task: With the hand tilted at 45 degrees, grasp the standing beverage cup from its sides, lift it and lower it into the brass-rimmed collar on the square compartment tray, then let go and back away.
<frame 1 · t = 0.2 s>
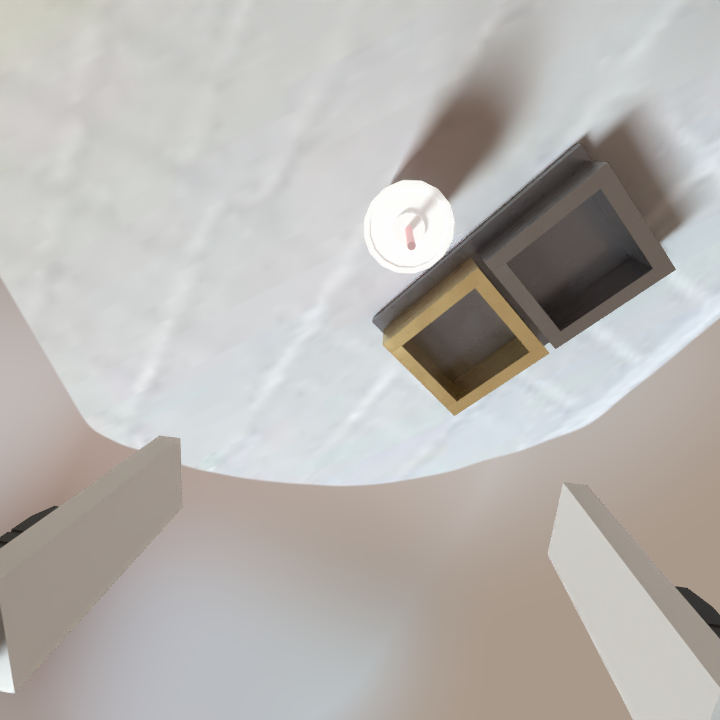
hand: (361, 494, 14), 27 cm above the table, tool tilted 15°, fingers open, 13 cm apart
beverage cup: (405, 209, 35), on the table
square compartment tray: (505, 292, 38), on the table
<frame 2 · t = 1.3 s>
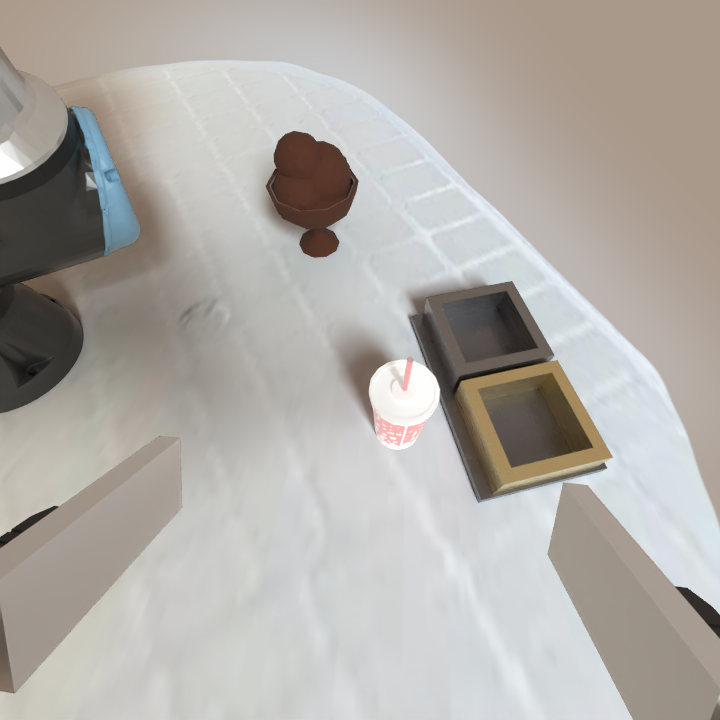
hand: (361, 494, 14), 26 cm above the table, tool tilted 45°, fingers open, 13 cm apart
beverage cup: (396, 429, 42), on the table
ice cream bowl: (319, 244, 56), on the table
square compartment tray: (496, 388, 44), on the table
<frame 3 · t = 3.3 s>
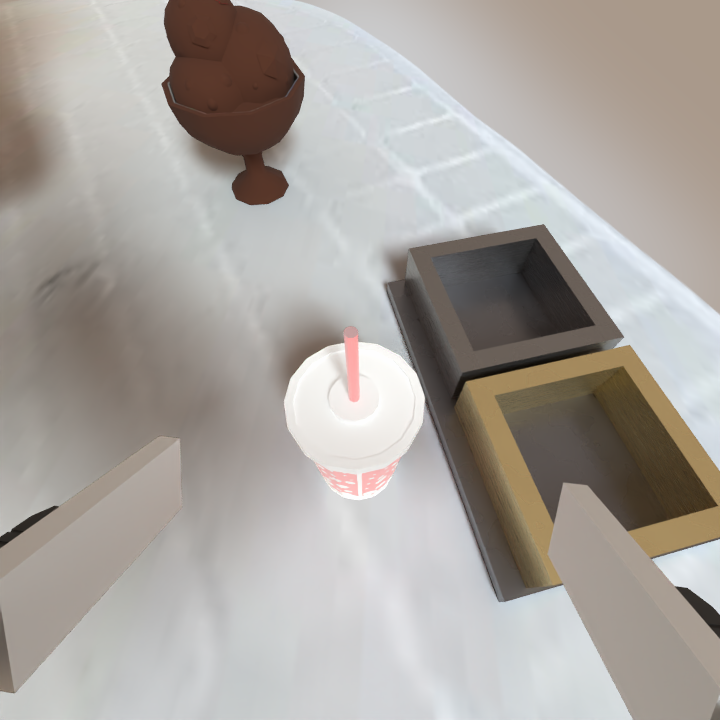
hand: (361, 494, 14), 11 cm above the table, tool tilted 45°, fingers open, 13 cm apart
beverage cup: (357, 463, 25), on the table
ice cream bowl: (260, 188, 40), on the table
square compartment tray: (521, 393, 27), on the table
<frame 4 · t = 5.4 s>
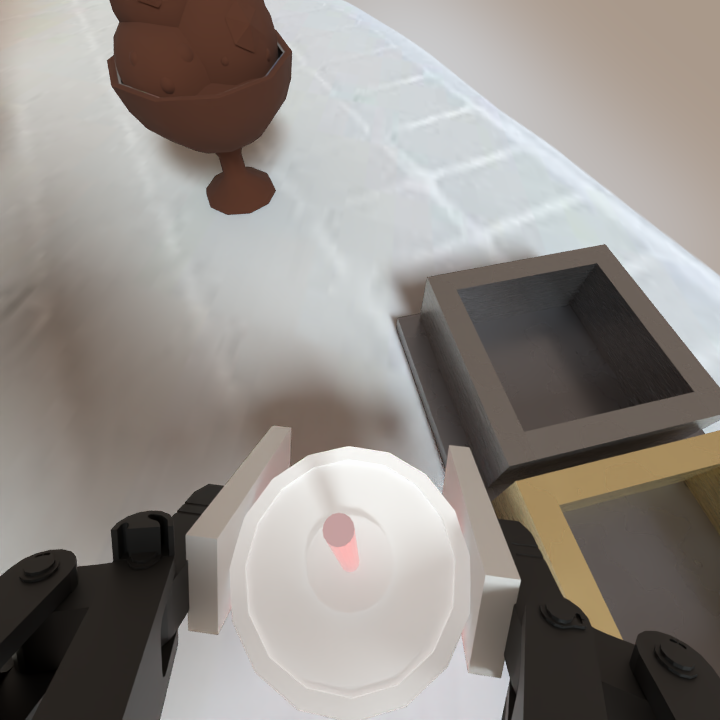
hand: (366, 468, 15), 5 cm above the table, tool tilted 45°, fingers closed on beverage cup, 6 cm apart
beverage cup: (357, 581, 18), on the table, touching gripper
ice cream bowl: (241, 194, 33), on the table
square compartment tray: (580, 475, 20), on the table
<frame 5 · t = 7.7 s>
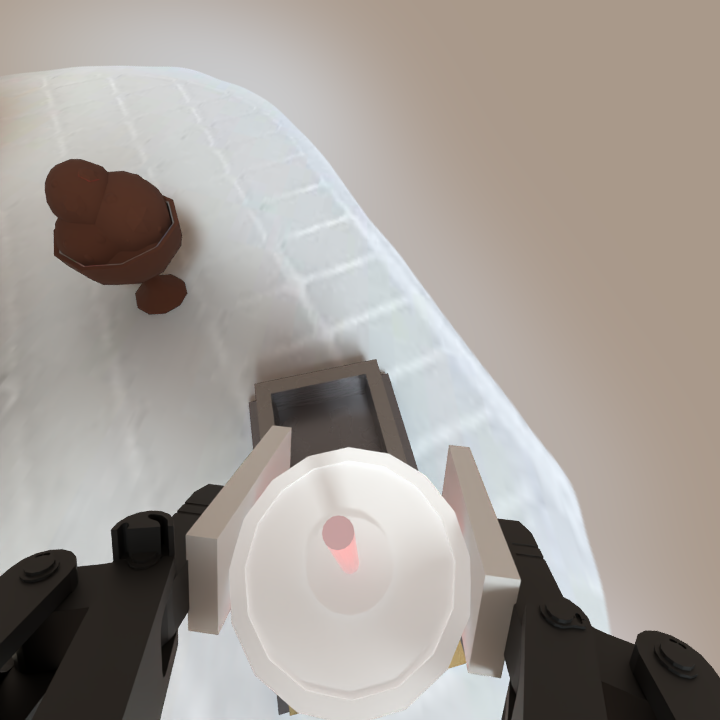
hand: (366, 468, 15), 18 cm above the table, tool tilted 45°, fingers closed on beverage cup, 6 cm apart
beverage cup: (357, 582, 18), point 13 cm above the table, touching gripper
ice cream bowl: (162, 296, 44), on the table
square compartment tray: (345, 511, 32), on the table
when the fingers open (7 cm above the table, at t = 10.0 s): beverage cup drops 1 cm, resting on square compartment tray.
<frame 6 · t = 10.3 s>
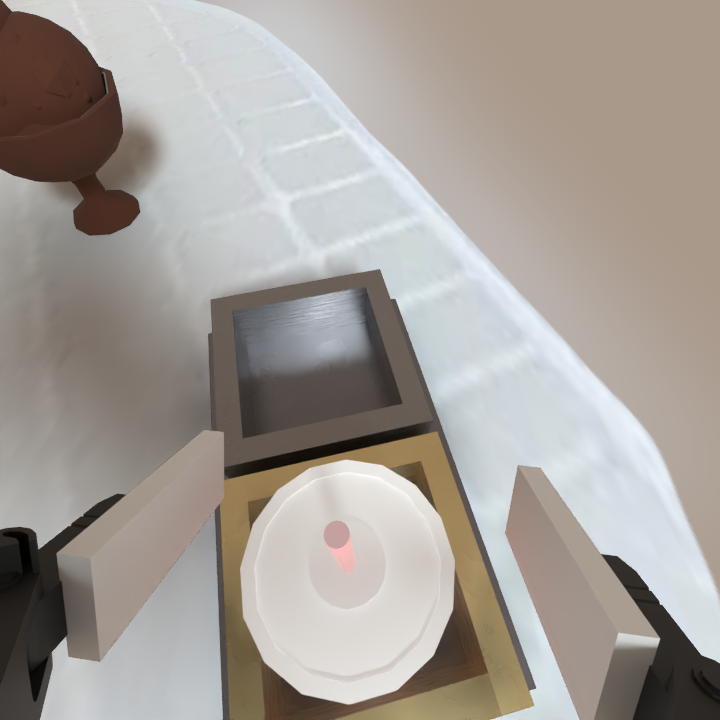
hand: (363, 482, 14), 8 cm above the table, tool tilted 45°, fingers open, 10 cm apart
beverage cup: (355, 584, 19), point 1 cm above the table, touching square compartment tray
ice cream bowl: (109, 215, 35), on the table
square compartment tray: (336, 476, 23), on the table
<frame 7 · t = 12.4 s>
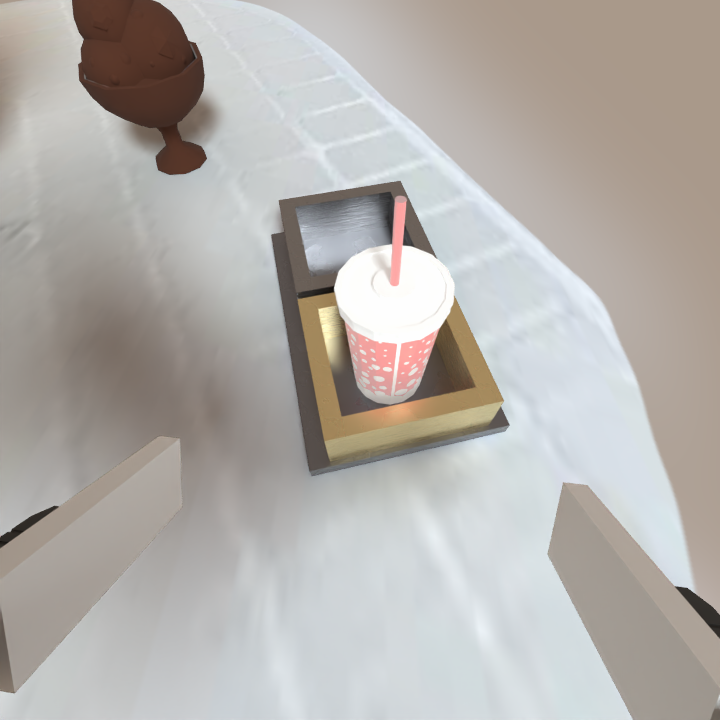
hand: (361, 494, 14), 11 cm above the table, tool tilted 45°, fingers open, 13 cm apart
beverage cup: (387, 376, 28), point 1 cm above the table, touching square compartment tray
ice cream bowl: (182, 161, 44), on the table
square compartment tray: (370, 322, 32), on the table
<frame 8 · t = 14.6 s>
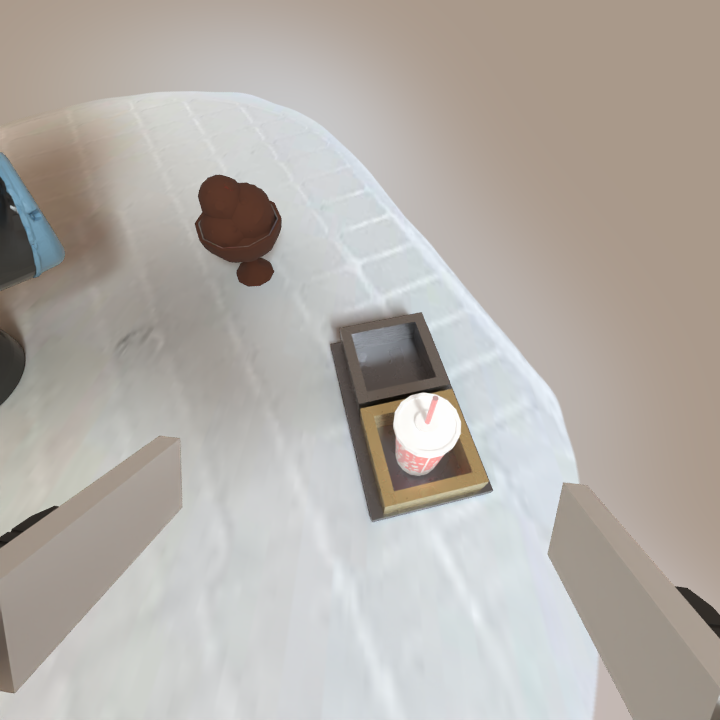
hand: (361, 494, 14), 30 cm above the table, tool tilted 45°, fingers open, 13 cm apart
beverage cup: (416, 455, 44), point 1 cm above the table, touching square compartment tray
ice cream bowl: (255, 273, 60), on the table
square compartment tray: (402, 413, 47), on the table
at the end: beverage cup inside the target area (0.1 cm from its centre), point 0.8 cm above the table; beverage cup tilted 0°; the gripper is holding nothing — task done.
